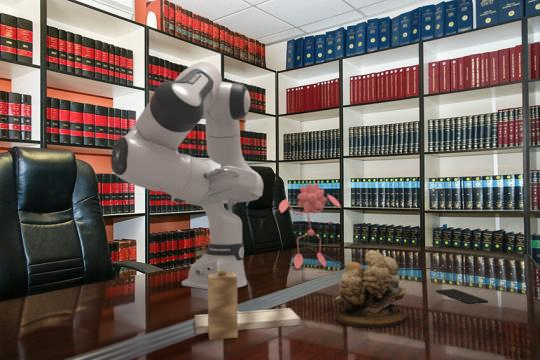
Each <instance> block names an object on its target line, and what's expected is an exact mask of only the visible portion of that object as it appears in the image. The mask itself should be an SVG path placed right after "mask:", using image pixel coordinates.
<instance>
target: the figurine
mask: <svg viewBox="0 0 540 360" xmlns="http://www.w3.org/2000/svg"><path fill="white" fill-rule="evenodd" d="M299 190H300V192H301V193H299V194H298V195H297V199H298V202H297V207H298V208H302V207H303V211H301V212H296V211H295V210H294V209H293V208H292V206H291V205H290V203H289V201H288V200H287V199H286V198H285V199H284V200H281V202H280V203H279V205H278V206H279V207H278V210H279V211H280V214H283V213H284V212H286V211H287V210H288V208H289V209H291V211H292V212H293V214H294V215H295V216H297V215H301V214H303V213H305V214H307V221H308V224H309V228H310V229H308V230H307V233H306V234H303V235H302V236H299V237H297V238H296V244H297V254H295V256H294V257H293V264H294V267H295V269H296V270H299V269H300V268H301V267H302V266H303V263H304V258H303V254H301V253H300V249H299V247H300V246H299V239H301V238H303V237H305V236H310V237H312V236H316V237H317V238H318V239H319V250H321V245H322V243H321V242H322V241H321V237H320V236H319V235H317V234H316V233H315V231H314V229H312V225H311V220H310V213H312V214H314V215H315V214H316V213H322V211H323V210H324V207H325V205H326V203H327V201H328V199H329V201H330V202H331V204H333V205H334V206H336V207H337V208H340V209H341V208H342V207H341V206H342V205H341V204H340V202H339V201H338V199H336V197H334V196H332V195H330V194H327V195H326V196H327V197H326V196H324V194H325V189H323V188H321V189H320V185H319V184H318V183H314V185H313V184H311V183H307V185H306V186H300V188H299ZM316 256H317V261H316V262H317V263H316V267H318V266H319V263H320V265H322V266H323V267H324V268H327V264H326V263H327V262H326V259H325V257H324V256H323V254H322V253H321V252H317V254H316ZM337 269H338V268H337ZM337 269H334V270H333V272H335V271H336V270H337ZM330 272H332V270H331V271H328V273H330ZM324 273H326V271H324V272H322V271H321V272H319V274H324Z"/></svg>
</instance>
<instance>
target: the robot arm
mask: <svg viewBox="0 0 540 360" xmlns="http://www.w3.org/2000/svg"><path fill="white" fill-rule="evenodd" d="M222 80H223V78H222V74H221V72H220V70H219V69H218V68H217V66H215V65H214V64H212V63H210V62H205V61H204V62H203V61H201V62H198V63H194V64H191V65H190V66H188V67H187V68H186V69H184V70H183V71H182V72H181V73H180V74H179V75H177V76H176V78H175V79H174V80H172V81H171V80H170V81H165V82H161V83H159V85H157V87H156V89H155V90H154V93H153V94H152V97H151V98H150V100H149V101H148V103H147V105H146V106H145V107H144V109H143V111H142V112H141V113H140V114H139V116H138V118H137V120H136V122H135V123H134V125H133V126H132V128H131V129H130V130H129V132H128V133H127V134H126V135H123V136H121V137H119V138H118V139H117V140H116V141H115V144H114V146H113V148H112V151H111V156H110V166H111V170H112V172H113V174H114V175H115V176H117V178H120V179H121V180H123V181H124V182H127V183H130V184H131V185H134V186H137V187H139V188H143V189H146V190H149V191H153V192H163V193H166V194H168V195H169V196H171V202H173V203H176V204H181V203H183V204H184V203H185V204H189V205H193V206H198V207H201V208H202V209H203V211H204V212H205V214H206V217H207V221H208V227H209V243H207V244H205V245H203V246H202V247H204V248H202V249H203V250H205V254H203V255H202V256H201V257H200V258H199V259H197V260H196V261H195V262H194V263H193V264H191V266H190V268H189V271H188V277H187V278H185V279H184V280H182V281H181V286H184V287H190V288H197V289H202V290H208V275H209V274H219V271H220V270H225V271H226V274H227V273H235V274H236V276H237V288H241V287H245V286H247V285H248V280H247V277H246V272H245V271H246V270H245V265H244V256H245V255H244V254H245V249H244V248H245V246H244V241H243V222H242V221H243V220H242V219H241V218H240V216H239V215H237V214H235V213H233V212H231V211H229V210H228V209H226V208H225V205H224V204H227V205H230V206H234V205H236V204H237V203H246V202H252V201H256V200H259V198H260V197H263V192H264V181H263V179H262V176H261V175H260V174H259V173H258V172H257V171H255V170H254V169H252V168H251V167H250V166H249V165H248V163H247V161H246V160H245V157H244V156H243V152H242V144H241V127H240V119H241V120H242V119H243V118H244V117H246V116H247V115H248V113H249V111H250V108H251V95H250V92H249V89H248V88H247V86H246V85H245V84H243V83H238V82H233V83H232V82H229V81H228V82H227V81H222ZM201 120H205V140H206V152H207V156H208V157H209V159H210V160H212V161H213V162H214V163H216V164H218V165H219V166H220V167H218V168H217V167H216V168H215V169H213V170H212V166H211V164H210V163H209V162H208V161H206V160H202V159H200V158H197V157H195V156H191V155H189V154H185V153H180V152H179V148H178V147H179V146H180V145H181V143H182V142H183V141H184V140H185V139H186V137H187V136H188V135H189V133H190V132H191V131H192V130H193V129H194V128H195V127H196V126H197V124H198V123H200V122H201Z"/></svg>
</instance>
